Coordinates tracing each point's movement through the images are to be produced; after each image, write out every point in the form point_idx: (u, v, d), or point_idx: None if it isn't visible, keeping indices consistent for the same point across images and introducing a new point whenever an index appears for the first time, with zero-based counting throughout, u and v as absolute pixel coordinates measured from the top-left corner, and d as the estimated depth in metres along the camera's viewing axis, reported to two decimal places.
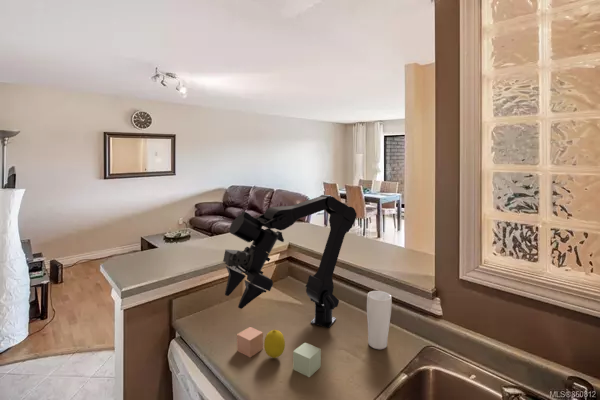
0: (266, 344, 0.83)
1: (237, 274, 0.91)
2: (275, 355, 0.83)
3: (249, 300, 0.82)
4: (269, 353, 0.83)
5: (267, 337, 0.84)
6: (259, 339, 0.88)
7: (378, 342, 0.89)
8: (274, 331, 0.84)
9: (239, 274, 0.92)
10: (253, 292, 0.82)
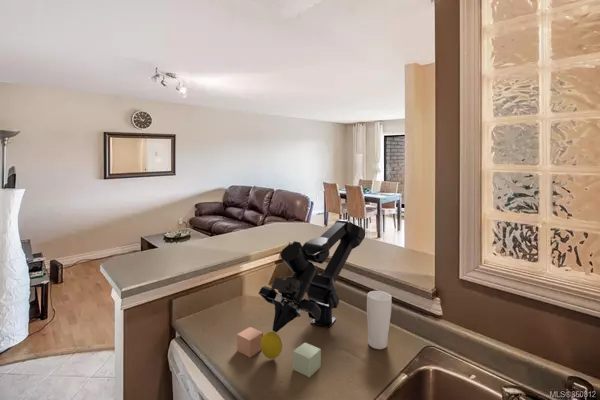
0: (262, 349, 0.82)
1: None
2: (273, 357, 0.82)
3: (284, 324, 0.86)
4: (267, 356, 0.82)
5: (262, 342, 0.82)
6: (259, 339, 0.88)
7: (378, 342, 0.89)
8: (268, 335, 0.82)
9: None
10: (288, 316, 0.87)
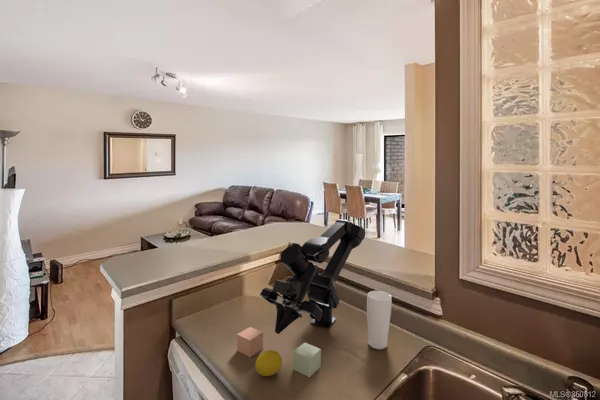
0: None
1: None
2: None
3: (286, 325, 0.87)
4: None
5: None
6: (259, 339, 0.88)
7: (378, 342, 0.89)
8: (257, 368, 0.76)
9: None
10: (290, 317, 0.87)
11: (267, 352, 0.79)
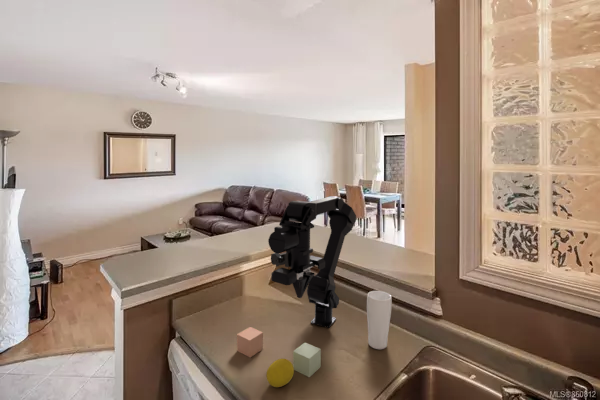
0: (275, 363, 0.75)
1: None
2: None
3: (299, 290, 0.91)
4: (279, 359, 0.77)
5: (272, 369, 0.74)
6: (259, 339, 0.88)
7: (378, 342, 0.89)
8: (267, 379, 0.73)
9: (303, 275, 0.92)
10: (298, 283, 0.91)
11: (286, 377, 0.73)
